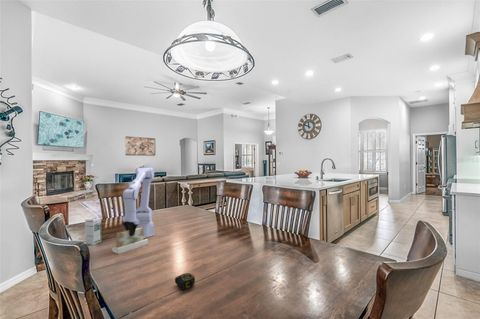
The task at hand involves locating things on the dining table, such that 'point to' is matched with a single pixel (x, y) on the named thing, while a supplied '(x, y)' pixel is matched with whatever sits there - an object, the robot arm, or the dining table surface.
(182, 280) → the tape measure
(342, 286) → the dining table surface
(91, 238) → the syrup box
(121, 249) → the bar
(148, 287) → the dining table surface
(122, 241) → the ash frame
